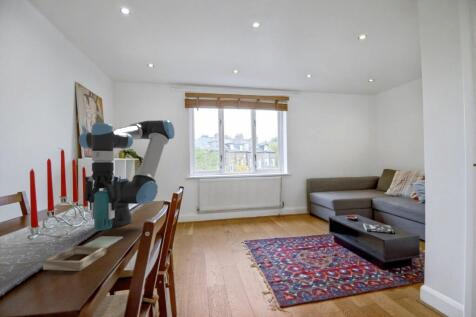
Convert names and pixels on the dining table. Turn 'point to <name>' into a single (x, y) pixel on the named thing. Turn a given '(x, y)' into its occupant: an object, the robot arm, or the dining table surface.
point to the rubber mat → (103, 241)
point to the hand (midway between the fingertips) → (103, 218)
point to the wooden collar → (59, 264)
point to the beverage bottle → (101, 209)
